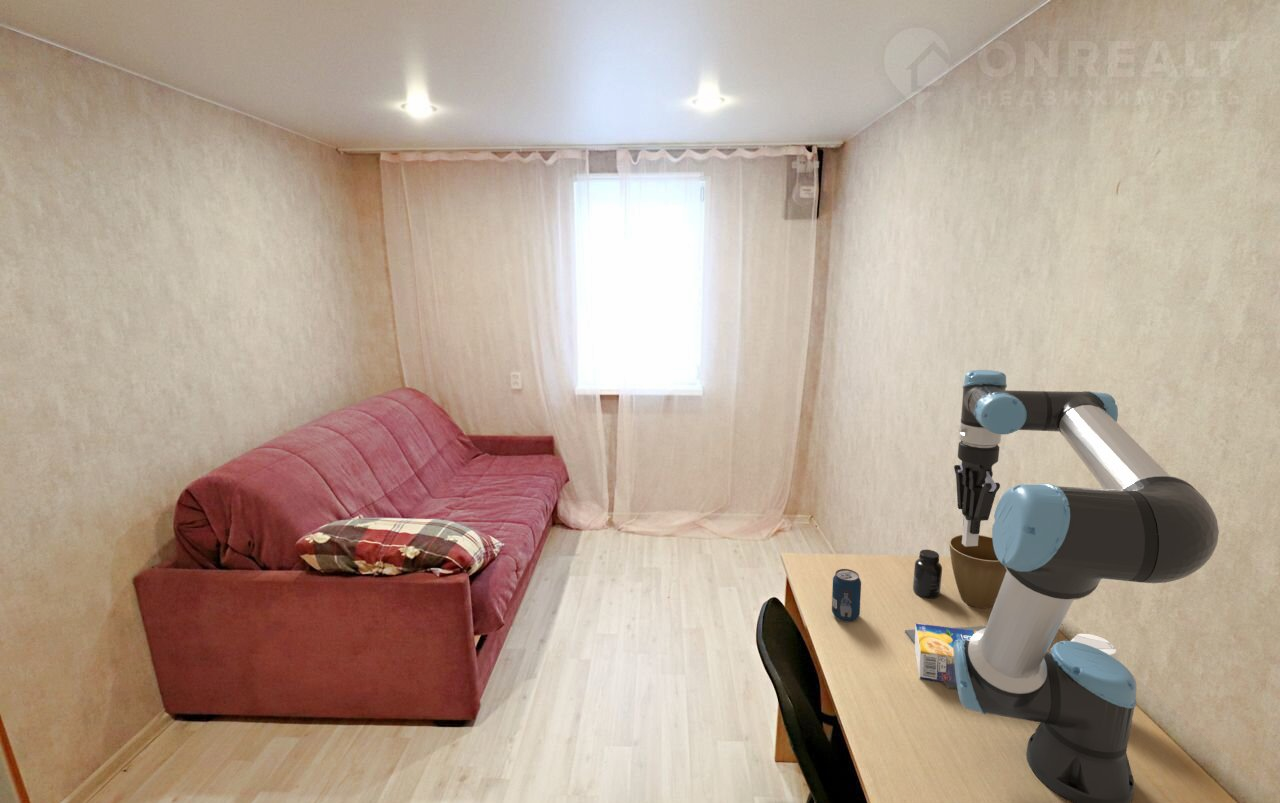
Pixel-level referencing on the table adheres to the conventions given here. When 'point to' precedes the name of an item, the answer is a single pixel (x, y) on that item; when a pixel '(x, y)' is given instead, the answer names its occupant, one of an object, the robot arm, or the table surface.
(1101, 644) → the paper cup
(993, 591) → the plant pot
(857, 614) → the soda can
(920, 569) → the supplement bottle
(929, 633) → the beverage box
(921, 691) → the table surface
